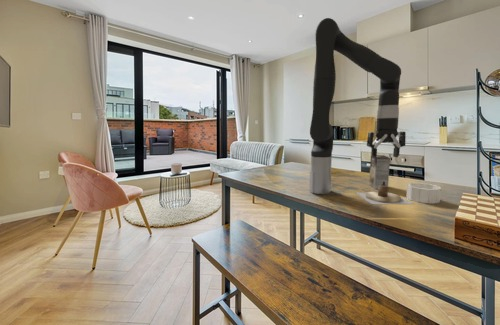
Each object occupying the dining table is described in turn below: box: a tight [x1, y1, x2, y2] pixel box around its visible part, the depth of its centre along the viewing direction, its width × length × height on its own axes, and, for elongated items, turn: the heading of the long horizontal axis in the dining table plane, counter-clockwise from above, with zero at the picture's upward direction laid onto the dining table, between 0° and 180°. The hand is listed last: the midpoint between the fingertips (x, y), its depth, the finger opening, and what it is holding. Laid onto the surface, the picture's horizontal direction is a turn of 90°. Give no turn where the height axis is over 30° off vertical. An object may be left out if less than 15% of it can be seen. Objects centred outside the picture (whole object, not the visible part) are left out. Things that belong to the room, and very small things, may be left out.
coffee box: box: [368, 154, 391, 190], centre depth 115 cm, size 9×6×16 cm
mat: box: [355, 192, 415, 205], centre depth 98 cm, size 16×16×1 cm
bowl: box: [405, 182, 442, 204], centre depth 95 cm, size 11×11×6 cm
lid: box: [365, 185, 402, 203], centre depth 98 cm, size 13×13×5 cm
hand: (385, 157), depth 96 cm, fingers open, 8 cm apart
